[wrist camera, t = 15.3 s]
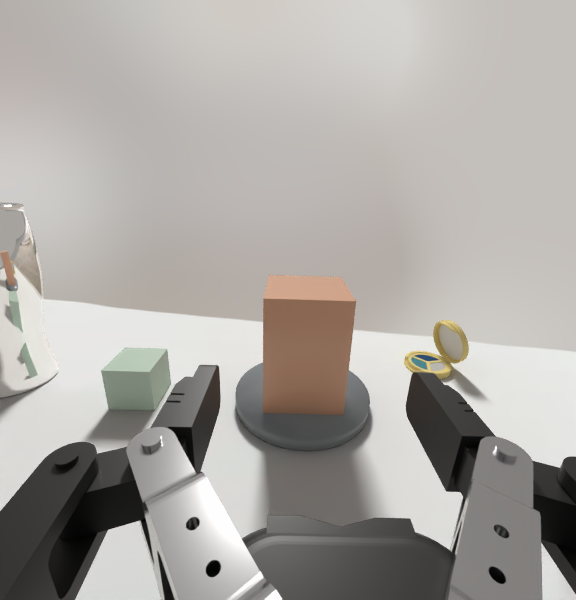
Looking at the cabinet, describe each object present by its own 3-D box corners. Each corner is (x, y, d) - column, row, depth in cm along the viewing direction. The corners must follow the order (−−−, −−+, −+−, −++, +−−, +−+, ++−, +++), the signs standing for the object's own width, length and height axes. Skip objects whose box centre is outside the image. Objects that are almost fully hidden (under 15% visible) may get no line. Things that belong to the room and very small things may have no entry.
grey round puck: (223, 448, 21) (223, 437, 21) (245, 363, 31) (245, 354, 31) (385, 452, 21) (387, 441, 21) (353, 366, 31) (354, 357, 31)
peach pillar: (262, 412, 23) (263, 298, 20) (268, 369, 29) (269, 275, 26) (343, 415, 23) (355, 301, 20) (332, 371, 29) (341, 277, 26)
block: (108, 410, 24) (101, 370, 23) (130, 383, 28) (125, 347, 27) (154, 411, 24) (149, 371, 23) (171, 384, 28) (167, 348, 27)
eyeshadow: (396, 358, 33) (403, 316, 32) (436, 354, 34) (445, 313, 33) (421, 381, 29) (430, 334, 28) (465, 376, 30) (477, 330, 29)
